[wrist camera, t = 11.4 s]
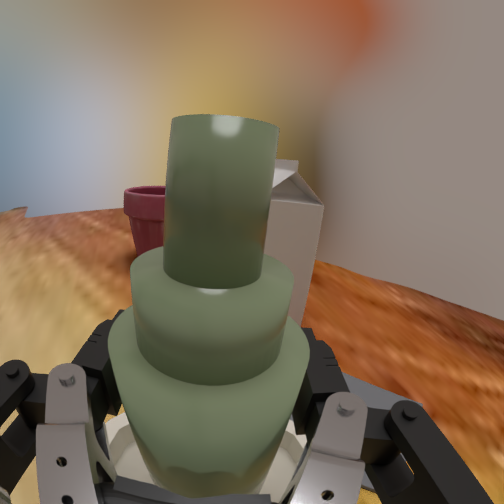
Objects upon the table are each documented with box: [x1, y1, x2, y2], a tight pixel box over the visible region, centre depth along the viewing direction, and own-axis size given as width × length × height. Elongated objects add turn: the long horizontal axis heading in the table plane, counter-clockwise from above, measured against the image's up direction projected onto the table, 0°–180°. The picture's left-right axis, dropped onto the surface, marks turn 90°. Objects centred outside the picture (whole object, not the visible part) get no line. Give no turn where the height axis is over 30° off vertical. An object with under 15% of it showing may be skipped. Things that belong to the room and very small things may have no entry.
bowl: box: [105, 412, 307, 503], centre depth 11 cm, size 14×14×3 cm
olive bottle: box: [108, 114, 310, 498], centre depth 9 cm, size 6×6×18 cm
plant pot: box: [124, 186, 166, 256], centre depth 45 cm, size 14×14×13 cm
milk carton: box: [264, 159, 324, 326], centre depth 31 cm, size 7×7×19 cm
